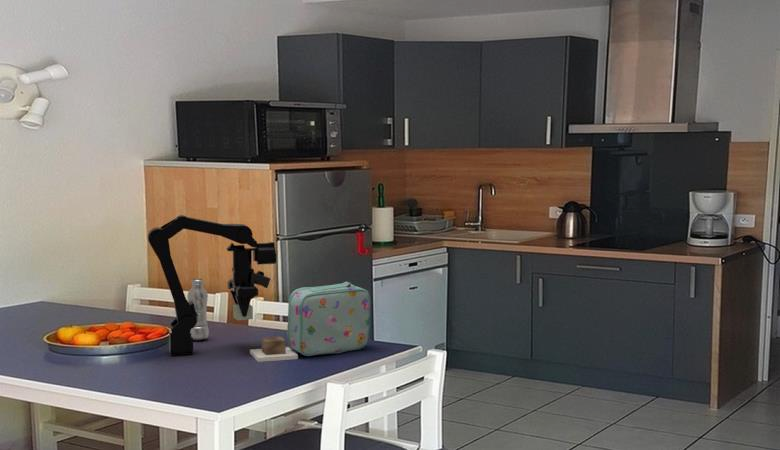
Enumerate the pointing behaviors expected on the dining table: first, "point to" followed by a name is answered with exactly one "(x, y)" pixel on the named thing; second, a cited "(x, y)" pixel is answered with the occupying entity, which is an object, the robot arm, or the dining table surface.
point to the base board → (262, 357)
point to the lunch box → (328, 319)
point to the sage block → (238, 314)
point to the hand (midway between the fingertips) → (242, 315)
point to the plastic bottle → (199, 309)
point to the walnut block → (273, 345)
